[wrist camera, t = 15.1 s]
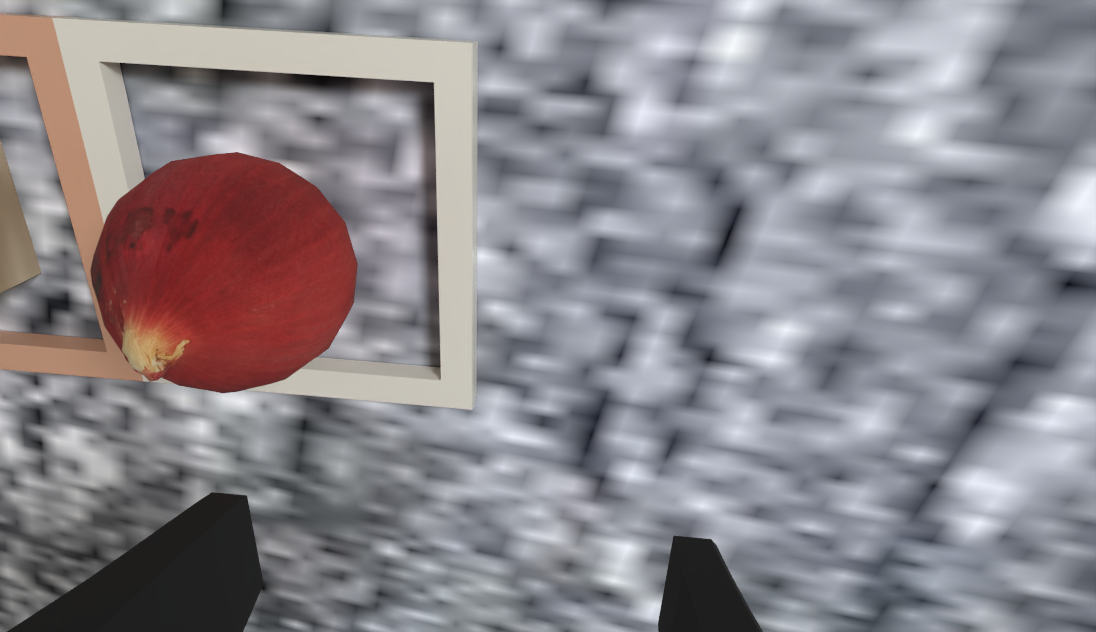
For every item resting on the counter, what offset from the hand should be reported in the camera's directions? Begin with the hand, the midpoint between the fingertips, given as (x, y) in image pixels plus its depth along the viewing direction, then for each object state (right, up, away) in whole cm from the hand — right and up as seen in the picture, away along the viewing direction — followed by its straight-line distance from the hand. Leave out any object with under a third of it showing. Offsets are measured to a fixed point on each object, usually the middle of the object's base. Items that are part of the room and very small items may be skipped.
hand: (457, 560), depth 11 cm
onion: (-6, +7, +9) cm, 13 cm away
